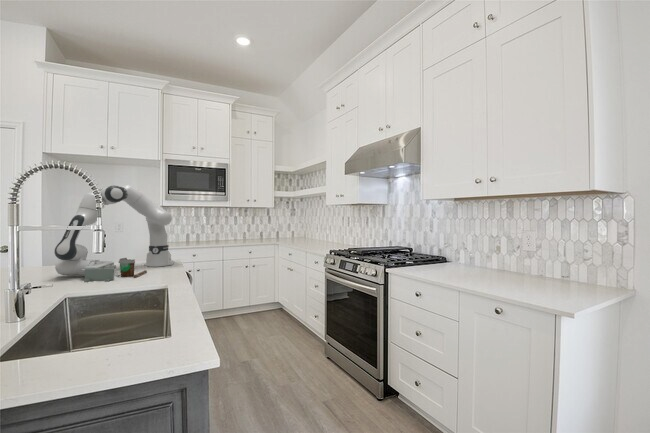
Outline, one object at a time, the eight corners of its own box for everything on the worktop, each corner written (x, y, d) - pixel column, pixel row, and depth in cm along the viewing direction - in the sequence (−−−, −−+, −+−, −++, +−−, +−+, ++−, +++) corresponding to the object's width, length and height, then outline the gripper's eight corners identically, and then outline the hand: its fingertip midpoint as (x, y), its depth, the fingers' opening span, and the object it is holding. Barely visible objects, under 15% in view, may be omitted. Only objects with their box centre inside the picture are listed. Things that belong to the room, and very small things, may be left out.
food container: (114, 275, 189) (114, 258, 189) (126, 273, 194) (126, 257, 194) (123, 278, 182) (123, 260, 182) (135, 276, 187) (135, 259, 187)
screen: (86, 280, 174) (86, 268, 174) (114, 280, 177) (114, 268, 176) (82, 282, 171) (82, 270, 171) (110, 281, 173) (110, 269, 173)
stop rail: (144, 272, 198) (144, 270, 198) (146, 272, 198) (146, 270, 198) (133, 278, 182) (133, 275, 182) (135, 278, 182) (135, 275, 182)
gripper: (78, 265, 175) (106, 264, 177) (98, 259, 195) (122, 259, 198) (78, 276, 175) (105, 275, 177) (98, 269, 195) (122, 269, 198)
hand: (115, 267), depth 188 cm, fingers closed
